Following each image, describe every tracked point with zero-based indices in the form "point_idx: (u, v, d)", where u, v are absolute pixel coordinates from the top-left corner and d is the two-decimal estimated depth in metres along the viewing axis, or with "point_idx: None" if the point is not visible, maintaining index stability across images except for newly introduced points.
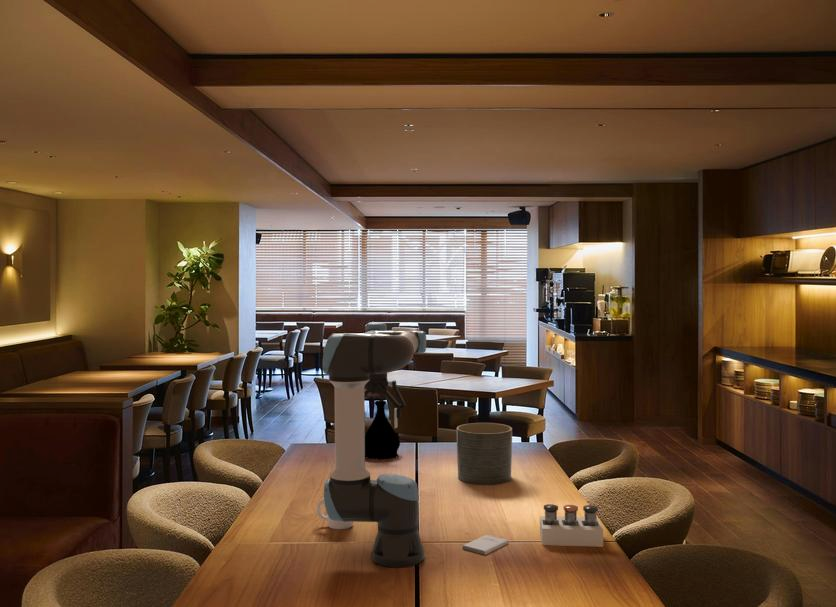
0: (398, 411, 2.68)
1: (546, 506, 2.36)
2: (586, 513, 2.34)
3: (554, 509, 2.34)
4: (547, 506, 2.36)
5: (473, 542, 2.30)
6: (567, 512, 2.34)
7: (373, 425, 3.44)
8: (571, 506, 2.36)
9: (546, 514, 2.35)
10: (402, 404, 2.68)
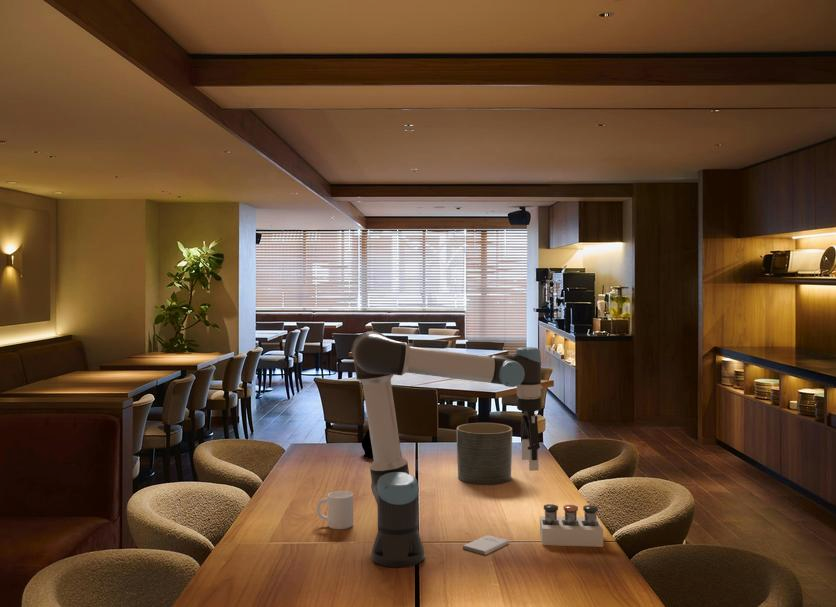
0: (532, 452, 2.32)
1: (546, 506, 2.36)
2: (586, 513, 2.34)
3: (554, 509, 2.34)
4: (547, 506, 2.36)
5: (473, 542, 2.30)
6: (567, 512, 2.34)
7: None
8: (571, 506, 2.36)
9: (546, 514, 2.35)
10: (531, 445, 2.30)
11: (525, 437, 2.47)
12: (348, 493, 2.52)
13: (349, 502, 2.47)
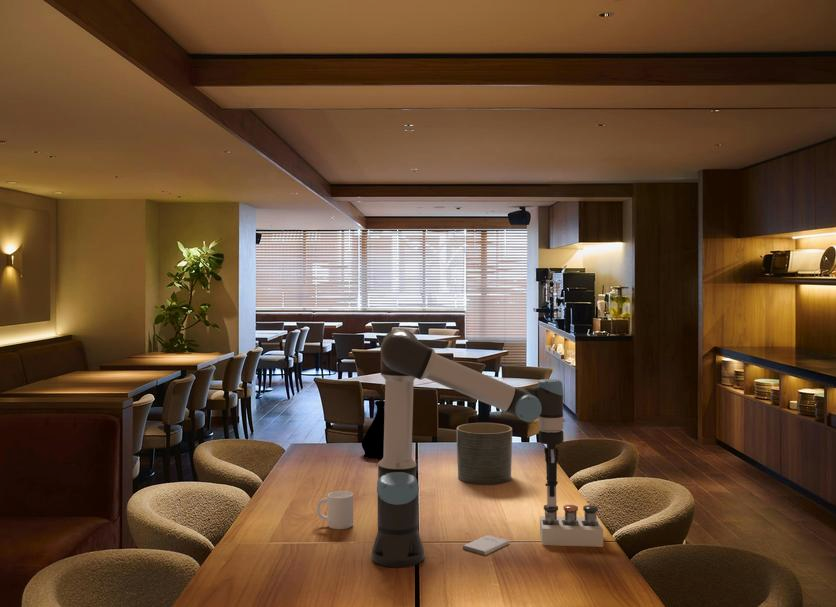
0: (549, 488, 2.35)
1: (546, 506, 2.36)
2: (586, 513, 2.34)
3: (554, 509, 2.34)
4: (547, 506, 2.36)
5: (473, 542, 2.30)
6: (567, 512, 2.34)
7: (373, 425, 3.44)
8: (571, 506, 2.36)
9: (546, 514, 2.35)
10: (548, 481, 2.33)
11: None
12: (348, 493, 2.52)
13: (349, 502, 2.47)
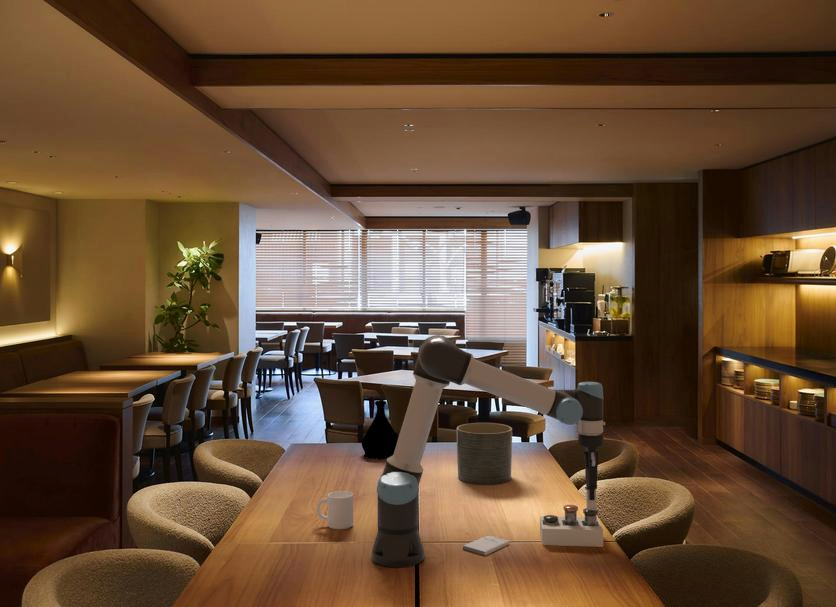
0: (589, 492, 2.34)
1: (546, 517, 2.36)
2: (586, 516, 2.34)
3: (554, 520, 2.34)
4: (547, 517, 2.36)
5: (474, 542, 2.30)
6: (567, 512, 2.34)
7: (373, 425, 3.44)
8: (571, 506, 2.36)
9: None
10: (588, 485, 2.32)
11: None
12: (348, 493, 2.52)
13: (349, 502, 2.47)
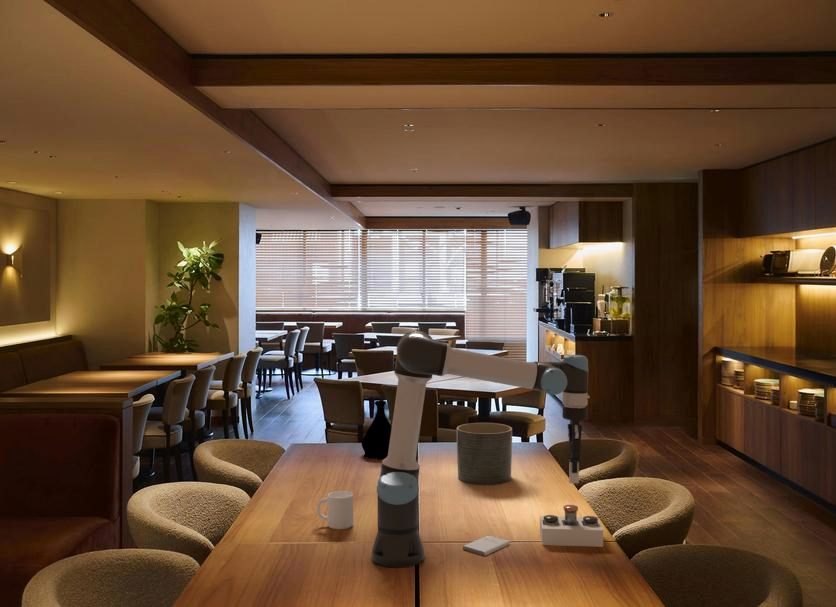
0: (572, 464, 2.34)
1: (546, 517, 2.36)
2: (586, 524, 2.34)
3: (554, 520, 2.34)
4: (547, 517, 2.36)
5: (474, 543, 2.30)
6: (567, 512, 2.34)
7: (373, 425, 3.44)
8: (571, 506, 2.36)
9: None
10: (571, 457, 2.32)
11: None
12: (348, 493, 2.52)
13: (349, 502, 2.47)
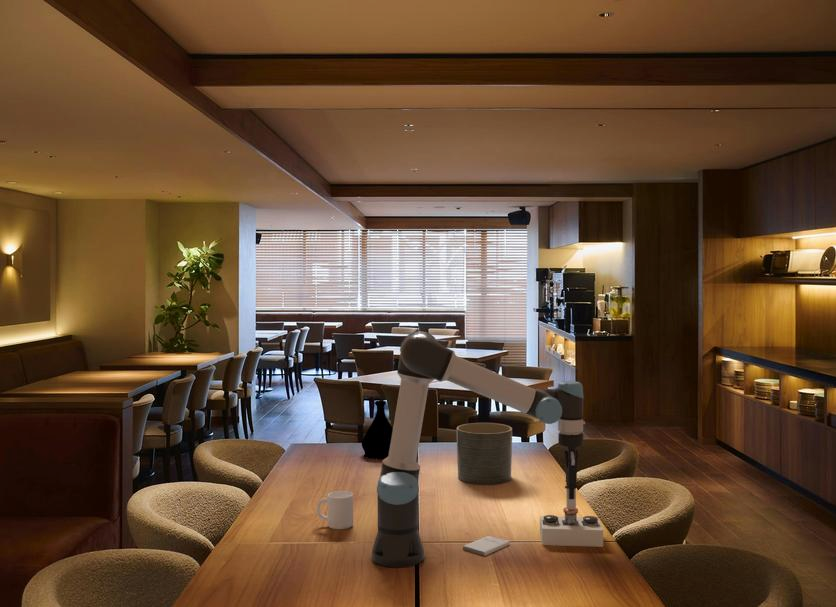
0: (569, 491, 2.34)
1: (546, 517, 2.36)
2: (586, 524, 2.34)
3: (554, 520, 2.34)
4: (547, 517, 2.36)
5: (474, 543, 2.30)
6: (567, 514, 2.34)
7: (373, 425, 3.44)
8: None
9: None
10: (568, 484, 2.32)
11: None
12: (348, 493, 2.52)
13: (349, 502, 2.47)
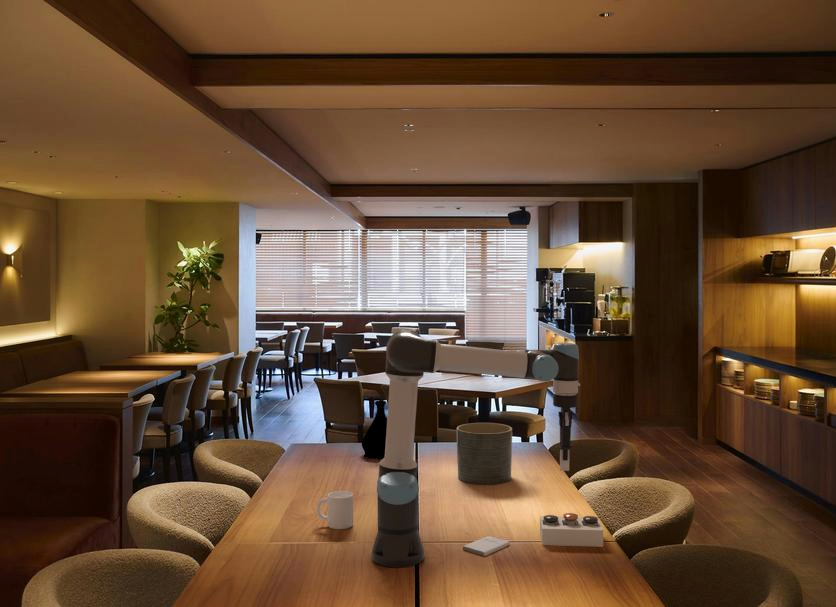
0: (562, 452, 2.34)
1: (546, 517, 2.36)
2: (586, 524, 2.34)
3: (554, 520, 2.34)
4: (547, 517, 2.36)
5: (474, 543, 2.29)
6: (567, 520, 2.34)
7: (373, 425, 3.44)
8: (571, 514, 2.36)
9: None
10: (561, 445, 2.33)
11: None
12: (348, 493, 2.52)
13: (349, 502, 2.47)
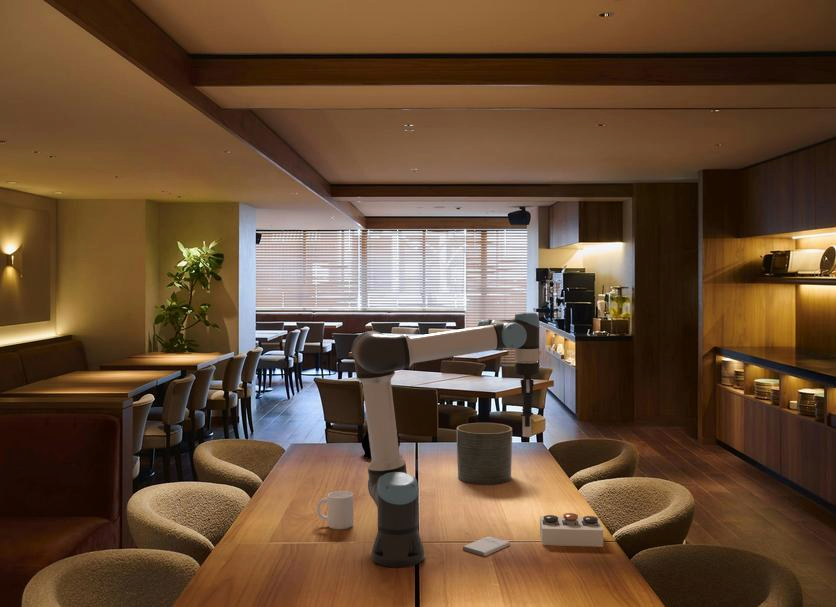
0: (525, 419, 2.41)
1: (546, 517, 2.36)
2: (586, 524, 2.34)
3: (554, 520, 2.34)
4: (547, 517, 2.36)
5: (474, 543, 2.29)
6: (567, 520, 2.34)
7: None
8: (571, 514, 2.36)
9: None
10: (523, 411, 2.39)
11: None
12: (348, 493, 2.52)
13: (349, 502, 2.47)
